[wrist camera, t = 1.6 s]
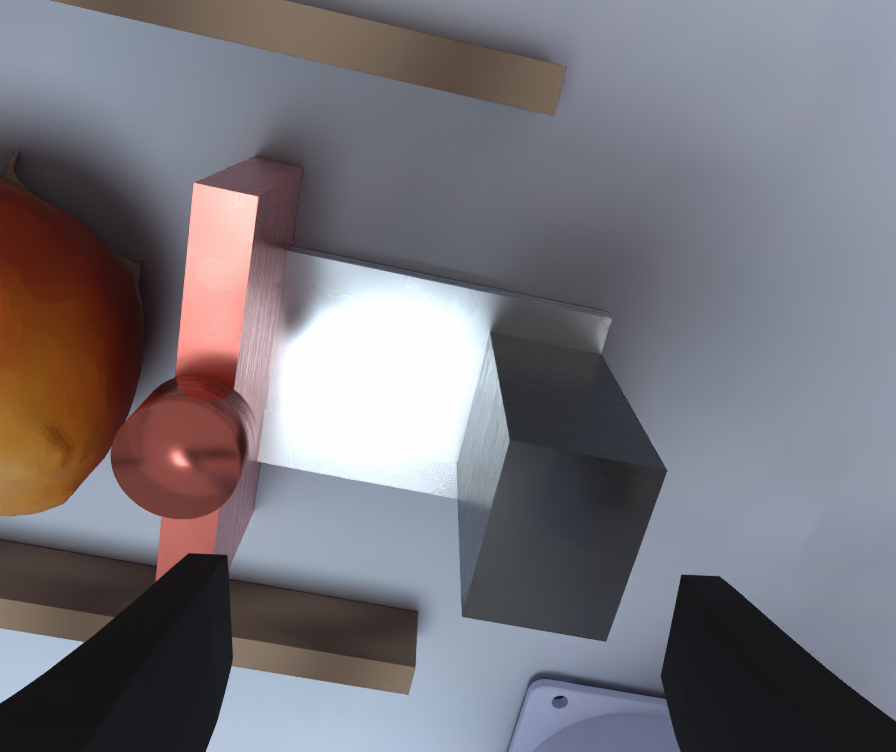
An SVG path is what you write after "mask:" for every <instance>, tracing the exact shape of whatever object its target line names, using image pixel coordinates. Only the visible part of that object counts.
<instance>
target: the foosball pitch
mask: <svg viewBox="0 0 896 752" xmlns="http://www.w3.org/2000/svg"><path fill="white" fill-rule="evenodd" d="M51 1H56V2H60V3H64V4H69V5H73V6H77V7H82V8H86V9H90V10H95V11H99V12H103V13H108V14H112V15H116V16H121V17H125V18H130V19H134V20H138V21H143V22H147V23H151V24H156V25H160V26H164V27H169V28H173V29H177V30H182V31H186V32H190V33H195V34H199V35H203V36H208V37H212V38H217V39H221V40H225V41H230V42H234V43H238V44H243V45H247V46H251V47H256V48H260V49H264V50H269V51H273V52H277V53H282V54H286V55H290V56H295V57H299V58H304V59H308V60H312V61H317V62H321V63H325V64H330V65H334V66H338V67H343V68H347V69H351V70H356V71H360V72H364V73H369V74H373V75H378V76H382V77H386V78H391V79H395V80H399V81H404V82H408V83H412V84H417V85H421V86H425V87H430V88H434V89H438V90H443V91H447V92H451V93H456V94H460V95H465V96H469V97H473V98H478V99H482V100H486V101H491V102H495V103H499V104H504V105H508V106H512V107H517V108H521V109H525V110H530V111H534V112H538V113H543V114H547V115H552V116H554V115H555V111H556V107H557V103H558V99H559V95H560V91H561V87H562V83H563V79H564V75H565V71H566V67H567V66H562V65H558V64H554V63H550V62H545V61H541V60H537V59H533V58H528V57H524V56H520V55H516V54H511V53H507V52H503V51H499V50H495V49H490V48H486V47H482V46H478V45H473V44H469V43H465V42H461V41H456V40H452V39H448V38H444V37H439V36H435V35H431V34H427V33H422V32H418V31H414V30H410V29H405V28H401V27H397V26H393V25H388V24H384V23H380V22H376V21H371V20H367V19H363V18H359V17H354V16H350V15H346V14H342V13H337V12H333V11H329V10H325V9H321V8H316V7H312V6H308V5H304V4H299V3H295V2H291V1H287V0H51ZM156 572H157V567H153V566H147V565H142V564H136V563H130V562H124V561H119V560H113V559H107V558H101V557H95V556H90V555H84V554H78V553H72V552H66V551H61V550H55V549H49V548H43V547H37V546H32V545H26V544H20V543H14V542H8V541H3V540H0V628H3V629H9V630H15V631H21V632H27V633H33V634H39V635H46V636H52V637H58V638H64V639H70V640H76V641H82V642H86V641H87V640H88V639H90V638H91V637H92V636H93V635H94V634H96V633H97V632H98V631H99V630H100V629H102V628H103V627H104V626H105V625H106V624H107V623H109V622H110V621H111V620H112V619H113V618H115V617H116V616H117V615H118V614H119V613H120V612H122V611H123V610H124V609H125V608H126V607H128V606H129V605H130V604H131V603H132V602H133V601H134V600H136V599H137V598H138V597H139V596H140V595H141V594H142V593H143V592H145V591H146V590H147V589H148V588H149V587H150V586H151V585H153V584H154V583H155V582H156ZM229 590H230V609H231V628H232V646H233V662H232V666H235V667H241V668H247V669H253V670H260V671H266V672H272V673H278V674H284V675H290V676H296V677H302V678H309V679H315V680H321V681H327V682H333V683H339V684H345V685H351V686H357V687H364V688H370V689H376V690H382V691H388V692H394V693H400V694H406V695H409V691H410V687H411V683H412V679H413V675H414V671H415V665H416V643H417V621H418V612H414V611H408V610H402V609H397V608H391V607H385V606H379V605H373V604H368V603H362V602H356V601H350V600H344V599H339V598H333V597H327V596H321V595H315V594H310V593H304V592H298V591H292V590H286V589H281V588H275V587H269V586H263V585H258V584H252V583H246V582H240V581H234V580H229Z"/></svg>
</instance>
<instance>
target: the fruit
mask: <svg viewBox="0 0 896 752" xmlns="http://www.w3.org/2000/svg"><path fill="white" fill-rule="evenodd" d="M18 153H19V152H18V150H17V151H16V152H14V153H13V156H12V158H11V159H10V161H9V163H8V165H7V167H6V170H5V172H4V175H3V177H2V176H0V516H17V515H28V514H34V513H39V512H43V511H45V510H48V509H51V508H54V507H56V506H59V505H61V504H64V503H65V502H66V501H67V500H68V499H69V497H70V496H71V495H73V493H74V492H75V491H76V490H77V488H78V487H79V486H80V485H81V483H82V482H83V481H84V480H85V479H86V478H87V477H88V475H89V474H90V473H91V472H92V471H93V470H94V469H95V468H96V467H97V466H98V465H99V463H100V462H101V461H102V460H103V459H104V458H105V456H106V455H107V453H108V452H109V450H110V448H111V446H112V444H113V440H114V438H115V436H116V434H117V432H118V430H119V429H120V428H121V426H122V425H123V424H124V423H125V421H126V418H127V416H128V414H129V411H130V408H131V405H132V402H133V399H134V396H135V393H136V388H137V384H138V380H139V376H140V370H141V361H142V353H143V345H144V336H145V318H144V310H143V303H142V299H141V296H140V292H139V279H140V265H141V264H142V263H143V262H144V261H141V262H137V261H131V260H127V259H126V258H124V257H123V256H122V255H121V254H119V253H118V252H117V251H116V250H114V249H113V248H112V247H111V246H109V245H108V244H107V243H106V242H104V241H103V240H102V239H101V238H100V237H99V236H98V235H97V234H96V233H95V232H94V231H93V230H92V229H91V228H90V227H89V226H88V225H86V224H85V223H84V222H82V221H81V220H80V219H78V218H77V217H75V216H74V215H72V214H70V213H69V212H67V211H65V210H63V209H61V208H59V207H57V206H55V205H53V204H50V203H48V202H46V201H44V200H42V199H41V198H40V197H38V196H37V195H36V194H34V193H33V192H31V191H30V190H29V189H28V188H27V187H26V186H25V185H24V184H23V183H22V182H21V180H20V179H19V178H18V177H17V175H16V162H17V156H18Z"/></svg>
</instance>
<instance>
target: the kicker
mask: <svg viewBox="0 0 896 752" xmlns="http://www.w3.org/2000/svg"><path fill="white" fill-rule="evenodd" d="M302 172H303V167H301V166H296V165H291V164H287V163H282V162H278V161H273V160H268V159H264V158H259V157H252V158H250V159H248V160H245V161H243V162H241V163H238V164H236V165H234V166H232V167H229V168H227V169H225V170H222V171H220V172H218V173H215V174H213V175H211V176H209V177H206V178H204V179H202V180H199V181H197V182H195V183H194V186H193V196H192V207H191V217H190V228H189V238H188V249H187V259H186V269H185V280H184V290H183V301H182V311H181V322H180V332H179V342H178V353H177V363H176V374H175V378H173V379H171V380H168V381H166V382H164V383H163V384H161V385H160V386H159V387H157V388H156V389H155V390H154V391H153V392H152V393H151V394H150V395H149V397H148V398H147V399H146V400H145V401H144V402H143V403H142V404H141V405H140V406H139V407H138V409H137V410H136V411H135V412H134V413H133V414H132V415H131V416H130V417H129V418H128V420H127V421H126V422H125V423H124V424H123V425H122V426H121V428H120V429H119V430H118V432H117V434H116V436H115V438H114V440H113V444H112V448H111V464H112V469H113V472H114V475H115V477H116V480H117V482H118V483H119V485H120V487H121V488H122V490H123V491H124V492H125V493H126V495H127V496H128V497H129V498H130V499H131V500H133V501H134V502H135V503H136V504H138V505H139V506H140V507H142V508H144V509H145V510H147V511H149V512H151V513H153V514H156V515H159V516H162V520H161V530H160V541H159V551H158V561H157V572H156V581H157V580H158V579H159V578H160V577H161V576H163V575H164V574H165V573H166V572H167V571H168V570H169V569H171V568H172V567H173V566H174V565H175V564H176V563H178V562H179V561H180V560H181V559H182V558H184V557H185V556H186V555H187V554H188V553H198V554H221V555H228V569H229V567H230V565H231V563H232V560H233V558H234V556H235V553H236V551H237V549H238V546H239V544H240V542H241V539H242V537H243V535H244V532H245V530H246V528H247V526H248V523H249V521H250V519H251V516H252V514H253V511H254V504H255V497H256V490H257V483H258V477H259V470H260V463H261V462H262V463H267V464H273V465H278V466H283V467H289V468H294V469H300V470H305V471H310V472H316V473H321V474H326V475H332V476H337V477H343V478H348V479H353V480H359V481H364V482H370V483H375V484H380V485H386V486H391V487H396V488H402V489H407V490H413V491H418V492H423V493H429V494H434V495H440V496H445V497H450V498H456V499H458V522H459V550H460V577H461V605H462V617H467V618H472V619H478V620H484V621H490V622H496V623H501V624H507V625H513V626H519V627H525V628H530V629H536V630H542V631H548V632H553V633H559V634H565V635H571V636H577V637H582V638H588V639H594V640H600V641H605V642H606V640H607V638H608V635H609V632H610V629H611V626H612V624H613V621H614V618H615V615H616V612H617V610H618V607H619V604H620V601H621V598H622V596H623V593H624V590H625V587H626V584H627V582H628V579H629V576H630V573H631V570H632V568H633V565H634V562H635V559H636V556H637V554H638V551H639V548H640V545H641V542H642V540H643V537H644V534H645V531H646V528H647V526H648V523H649V520H650V517H651V514H652V512H653V509H654V506H655V503H656V500H657V498H658V495H659V492H660V489H661V486H662V484H663V481H664V478H665V475H666V472H667V469H666V468H665V466H664V464H663V462H662V460H661V459H660V457H659V455H658V453H657V452H656V450H655V448H654V446H653V445H652V443H651V441H650V439H649V438H648V436H647V434H646V432H645V431H644V429H643V427H642V425H641V424H640V422H639V420H638V418H637V417H636V415H635V413H634V411H633V409H632V408H631V406H630V404H629V402H628V401H627V399H626V397H625V395H624V394H623V392H622V390H621V388H620V387H619V385H618V383H617V381H616V380H615V378H614V376H613V374H612V373H611V371H610V369H609V367H608V366H607V364H606V362H605V360H604V358H603V357H602V355H601V353H602V350H603V347H604V344H605V340H606V337H607V334H608V330H609V327H610V324H611V321H612V318H611V316H610V315H609V313H608V312H605V311H600V310H596V309H591V308H586V307H581V306H577V305H572V304H567V303H562V302H557V301H553V300H548V299H543V298H538V297H534V296H529V295H524V294H519V293H515V292H510V291H505V290H500V289H495V288H491V287H486V286H481V285H476V284H472V283H467V282H462V281H457V280H452V279H448V278H443V277H438V276H433V275H429V274H424V273H419V272H414V271H410V270H405V269H400V268H395V267H390V266H386V265H381V264H376V263H371V262H367V261H362V260H357V259H352V258H347V257H343V256H338V255H333V254H328V253H324V252H319V251H314V250H309V249H305V248H300V247H295V246H292V241H293V234H294V227H295V220H296V214H297V207H298V200H299V193H300V186H301V179H302Z"/></svg>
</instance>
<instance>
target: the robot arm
mask: <svg viewBox="0 0 896 752" xmlns="http://www.w3.org/2000/svg"><path fill="white" fill-rule="evenodd" d="M232 662H233V646H232V628H231V609H230V590H229V572H228V555H221V554H198V553H188V554H187V555H186V556H185V557H184V558H182V559H181V560H180V561H179V562H178V563H176V564H175V565H174V566H173V567H172V568H171V569H169V570H168V571H167V572H166V573H165V574H164V575H163V576H161V577H160V578H159V579H158V580H157V581H156V582H155V583H154V584H153V585H151V586H150V587H149V588H148V589H147V590H146V591H145V592H143V593H142V594H141V595H140V596H139V597H138V598H137V599H136V600H134V601H133V602H132V603H131V604H130V605H129V606H128V607H126V608H125V609H124V610H123V611H122V612H120V613H119V614H118V615H117V616H116V617H115V618H113V619H112V620H111V621H110V622H109V623H107V624H106V625H105V626H104V627H103V628H102V629H100V630H99V631H98V632H97V633H96V634H94V635H93V636H92V637H91V638H90V639H88V640H87V641H86V642H84V643H83V644H82V645H80V646H79V647H78V648H77V649H75V650H74V651H73V652H71V653H70V654H69V655H67V656H66V657H65V658H64V659H62V660H61V661H60V662H58V663H57V664H56V665H55V666H53V667H52V668H51V669H49V670H48V671H47V672H45V673H44V674H43V675H41V676H40V677H38V678H37V679H36V680H34V681H33V682H31V683H30V684H29V685H27V686H26V687H24V688H23V689H21V690H20V691H18V692H17V693H16V694H14V695H13V696H11V697H9V698H8V699H6V700H5V701H3V702H2V703H0V752H206V749H207V747H208V744H209V741H210V739H211V736H212V734H213V731H214V728H215V726H216V723H217V720H218V717H219V713H220V709H221V705H222V702H223V698H224V694H225V690H226V686H227V682H228V678H229V674H230V670H231V666H232ZM661 679H662V683H663V688H664V692H665V697H666V699H662V698H656V697H650V696H644V695H638V694H632V693H626V692H620V691H614V690H608V689H602V688H596V687H590V686H584V685H578V684H573V683H567V682H561V681H555V680H549V679H540V680H537V681H535V682H533V683H532V684H531V685H530V687H529V688H528V691H527V694H526V697H525V700H524V703H523V706H522V710H521V713H520V716H519V719H518V722H517V725H516V728H515V731H514V734H513V738H512V741H511V744H510V747H509V750H508V752H896V721H895V720H893V719H892V718H890V717H889V716H888V715H886V714H885V713H883V712H882V711H881V710H879V709H878V708H877V707H876V706H874V705H873V704H872V703H870V702H869V701H868V700H866V699H865V698H864V697H863V696H861V695H860V694H859V693H857V692H856V691H855V690H853V689H852V688H851V687H850V686H848V685H847V684H846V683H844V682H843V681H842V680H841V679H839V678H838V677H837V676H836V675H834V674H833V673H832V672H831V671H830V670H828V669H827V668H826V667H825V666H823V665H822V664H821V663H820V662H819V661H817V660H816V659H815V658H814V657H813V656H811V655H810V654H809V653H808V652H807V651H806V650H804V649H803V648H802V647H801V646H800V645H798V644H797V643H796V642H795V641H794V640H793V639H792V638H790V637H789V636H788V635H787V634H786V633H785V632H783V631H782V630H781V629H780V628H779V627H778V626H777V625H775V624H774V623H773V622H772V621H771V620H770V619H769V618H768V617H766V616H765V615H764V614H763V613H762V612H761V611H760V610H758V609H757V608H756V607H755V606H754V605H753V604H752V603H750V602H749V601H748V600H747V599H746V598H745V597H744V596H743V595H741V594H740V593H739V592H738V591H737V590H736V589H734V588H733V587H732V586H731V585H730V584H728V583H727V582H726V581H725V580H723V579H722V578H721V577H720V576H700V575H681V580H680V585H679V589H678V594H677V599H676V604H675V609H674V614H673V619H672V624H671V629H670V634H669V639H668V644H667V648H666V653H665V658H664V663H663V668H662V673H661ZM556 696H564V697H563V698H561V699H554V697H556Z"/></svg>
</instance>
